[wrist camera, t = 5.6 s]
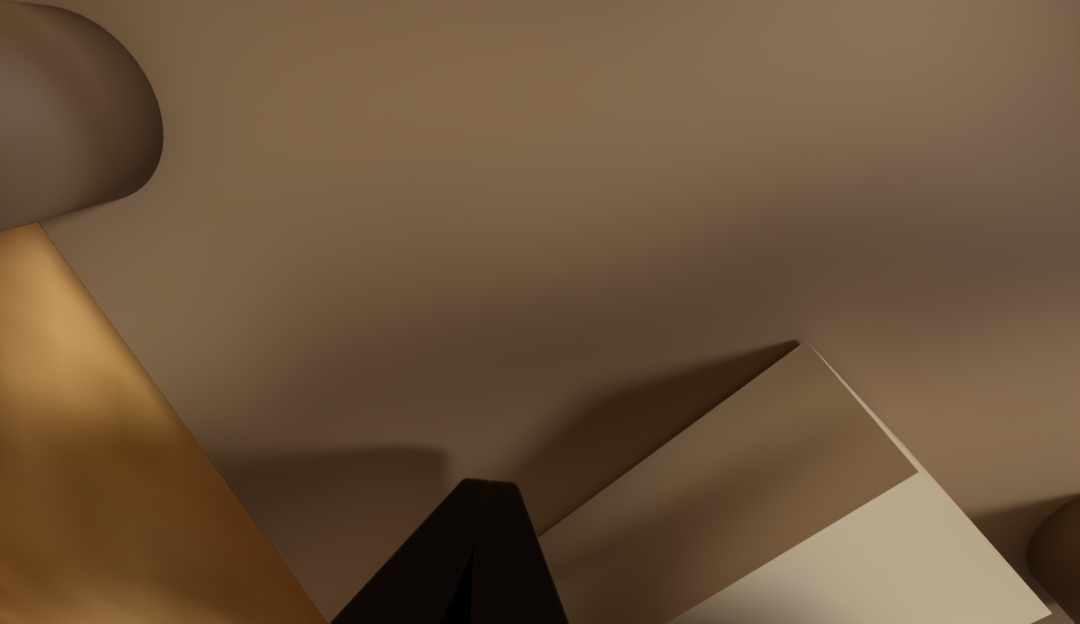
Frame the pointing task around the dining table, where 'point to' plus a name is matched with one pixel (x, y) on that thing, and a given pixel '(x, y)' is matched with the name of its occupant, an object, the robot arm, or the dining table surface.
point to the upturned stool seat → (565, 240)
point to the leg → (782, 523)
